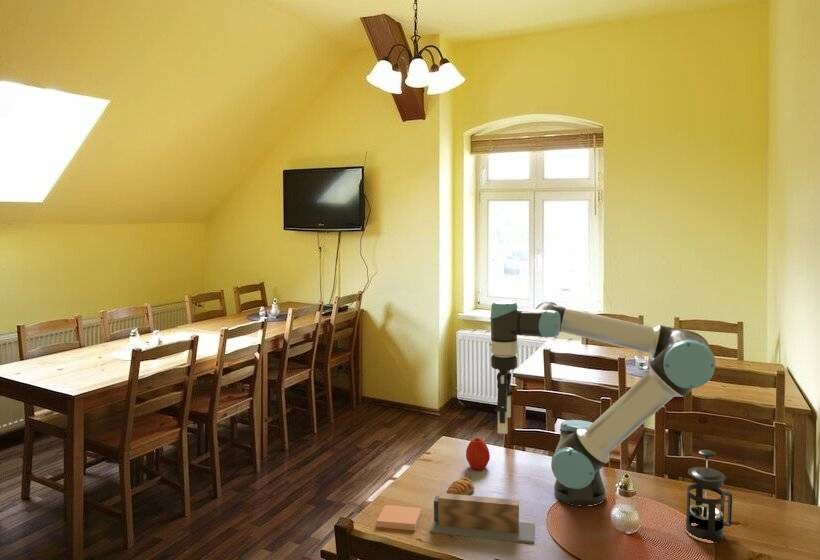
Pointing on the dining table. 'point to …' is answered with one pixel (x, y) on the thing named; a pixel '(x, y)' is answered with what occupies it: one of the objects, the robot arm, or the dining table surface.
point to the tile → (399, 517)
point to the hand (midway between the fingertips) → (504, 424)
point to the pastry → (461, 487)
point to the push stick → (477, 512)
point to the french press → (707, 502)
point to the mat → (489, 532)
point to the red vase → (477, 454)
